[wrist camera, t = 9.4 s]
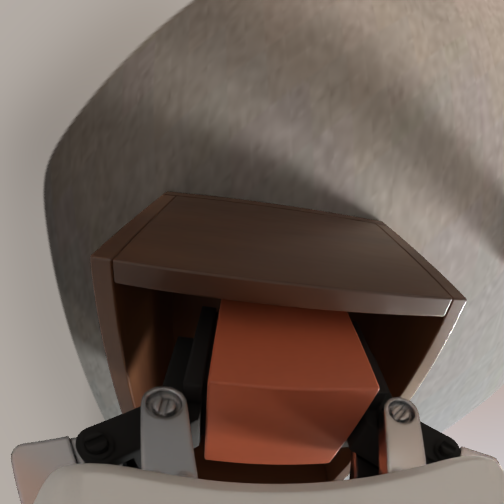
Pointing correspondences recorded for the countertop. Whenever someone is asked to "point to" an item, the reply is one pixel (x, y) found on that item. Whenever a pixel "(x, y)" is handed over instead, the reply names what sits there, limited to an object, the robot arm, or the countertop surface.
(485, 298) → the countertop surface
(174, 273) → the chest
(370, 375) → the block
